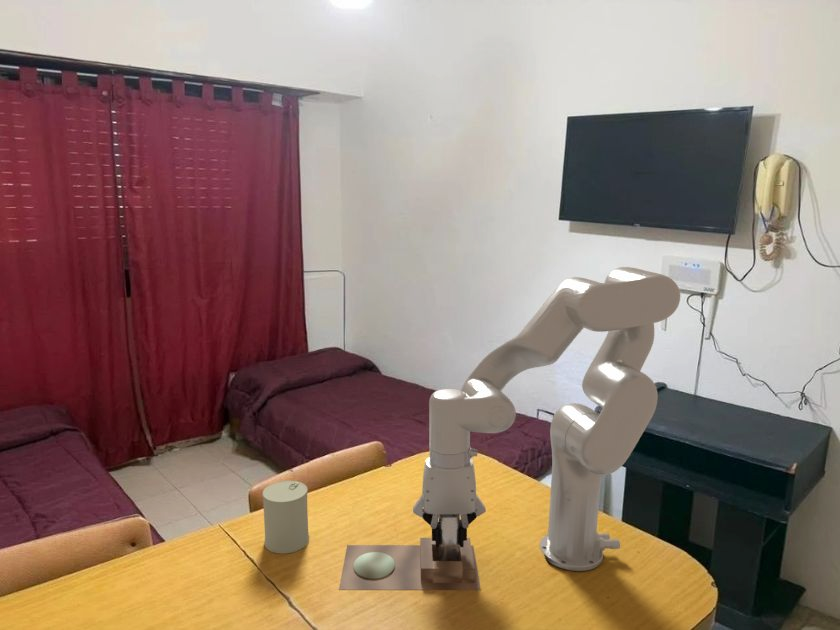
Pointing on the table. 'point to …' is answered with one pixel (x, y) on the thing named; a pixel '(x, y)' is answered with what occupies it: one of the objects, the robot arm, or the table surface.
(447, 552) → the peg
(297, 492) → the can
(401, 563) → the pocket board
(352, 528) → the table surface
